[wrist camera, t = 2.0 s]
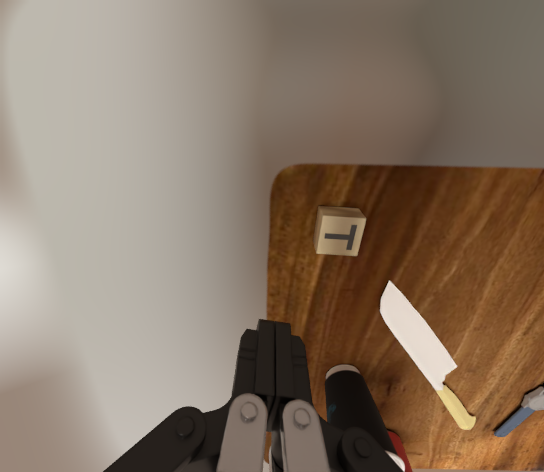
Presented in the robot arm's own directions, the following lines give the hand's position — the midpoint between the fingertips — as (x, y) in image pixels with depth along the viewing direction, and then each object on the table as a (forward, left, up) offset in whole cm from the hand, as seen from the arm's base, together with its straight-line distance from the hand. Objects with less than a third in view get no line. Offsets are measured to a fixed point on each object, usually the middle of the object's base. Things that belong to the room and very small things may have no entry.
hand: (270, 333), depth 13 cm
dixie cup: (+26, -6, -15) cm, 31 cm away
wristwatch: (+46, +15, -15) cm, 51 cm away
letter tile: (+5, +4, -15) cm, 17 cm away
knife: (+31, +5, -16) cm, 35 cm away
